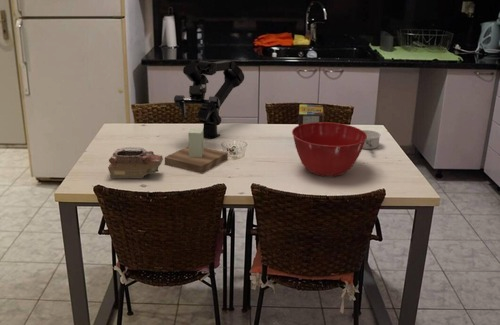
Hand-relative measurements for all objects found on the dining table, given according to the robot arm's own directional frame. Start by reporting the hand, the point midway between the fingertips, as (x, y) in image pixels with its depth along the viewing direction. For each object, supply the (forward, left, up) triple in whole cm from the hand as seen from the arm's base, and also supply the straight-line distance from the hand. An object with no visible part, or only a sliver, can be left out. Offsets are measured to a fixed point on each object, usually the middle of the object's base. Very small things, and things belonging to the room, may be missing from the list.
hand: (194, 119), depth 243 cm
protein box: (-35, +36, -14) cm, 53 cm away
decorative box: (+34, -2, -14) cm, 36 cm away
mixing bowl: (-9, +56, -14) cm, 59 cm away
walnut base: (+11, +8, -14) cm, 19 cm away
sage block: (+11, +8, -11) cm, 17 cm away
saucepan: (-41, +61, -14) cm, 75 cm away
